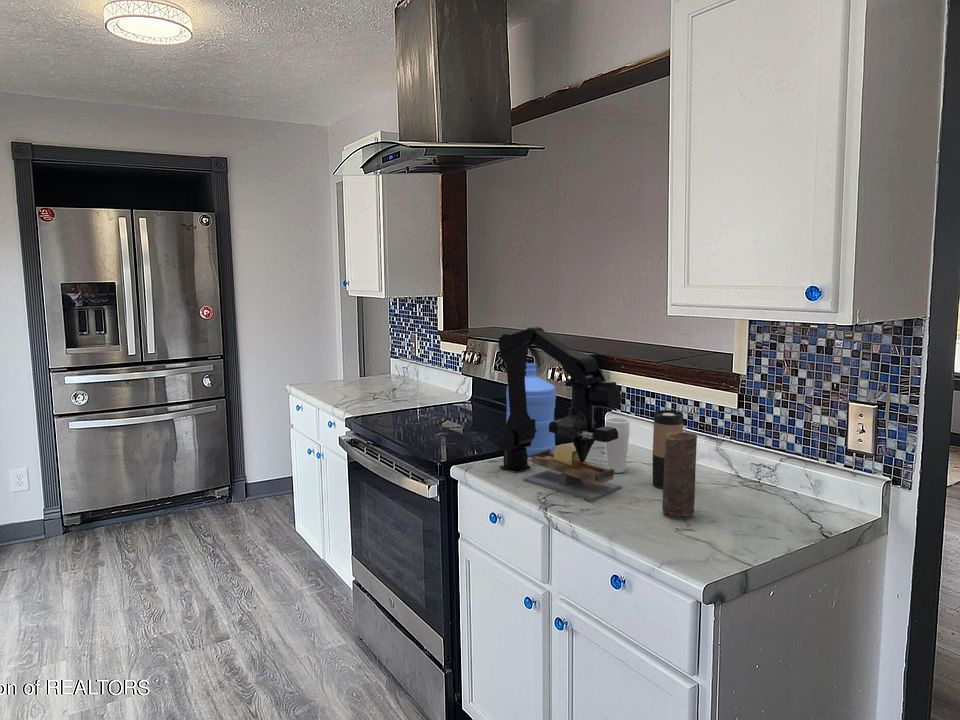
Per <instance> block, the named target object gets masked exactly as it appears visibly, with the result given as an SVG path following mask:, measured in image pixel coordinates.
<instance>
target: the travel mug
mask: <svg viewBox="0 0 960 720" xmlns="http://www.w3.org/2000/svg"><path fill="white" fill-rule="evenodd" d="M653 416H654V418H653V435H652V436H653V437H652V438H653V439H652V485H653V487H654V488H657V489H661V490H663V482H664V461H665V437H666V435H667V434H668V433H670V432H679V433H681V432H683V431H684V412H681V411H679V410H671V409H660V410H655V411H654V414H653Z"/></svg>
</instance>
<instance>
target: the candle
mask: <svg viewBox="0 0 960 720" xmlns="http://www.w3.org/2000/svg"><path fill="white" fill-rule="evenodd" d="M697 441H698V436H697V434H696V433H695V432H688V431H687V432H685V431H684V432H681V433H679V432H670V433H668V434H667V435H666V437H665V461H664V482H663V489H662V503H661V504H662V505H661V507H662V512H663V513H664V514H666V515H670V516H671V515H672V516H675V517H689V516H690V517H693V516H694V514H695V501H696V500H695V499H696V498H695V497H696V472H697V471H696V468H697Z"/></svg>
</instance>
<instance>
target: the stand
mask: <svg viewBox="0 0 960 720" xmlns="http://www.w3.org/2000/svg"><path fill="white" fill-rule="evenodd" d="M522 481H523V482H525V483H529V484H531V485H536V486H539V487H543V488H546V489H550V490H554V491H556V492H557V491H558V492H560V493H564V494H568V495H571V496H575V497H578V498H582V499H585V500H588V501H592V502H593V501H595V500H598V499H600V498H602V497H604V496H607V495H609V494H612V493H614V492H616V491H618V490H621V489H622V485H620V484H616V483H613V482H609V481H607V482H604V483H602V484H599V485H596V484H594V483H591V482H588V481H585V480H582V479H579V478H576V477H573V476H570V475H567V474H564V473H561V472H558V471H555V470H552V469H549V468H548V469H546V470H544V471H540V472H537V473H534V474H532V475H530V476H526V477H523V478H522Z"/></svg>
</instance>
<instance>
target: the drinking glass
mask: <svg viewBox="0 0 960 720" xmlns="http://www.w3.org/2000/svg"><path fill="white" fill-rule="evenodd" d="M604 426H606V427H612V428H616V430H617V431H618V439H615V440H612V441H609V442H605V451H606V469H608V470H609V469H614V474H623V473H625V472H626V469H627V457H628V449H629V438H630V420H629V419H628V418H625V417H624V418H623V417H608V418H606V419H605V425H604Z"/></svg>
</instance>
